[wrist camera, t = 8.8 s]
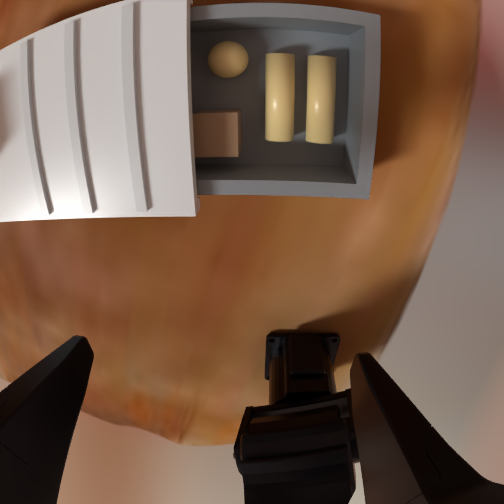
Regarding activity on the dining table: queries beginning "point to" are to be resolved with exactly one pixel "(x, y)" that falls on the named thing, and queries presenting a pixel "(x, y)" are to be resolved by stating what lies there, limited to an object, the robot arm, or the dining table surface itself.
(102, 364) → the dining table surface
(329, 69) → the tub
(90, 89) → the lid
